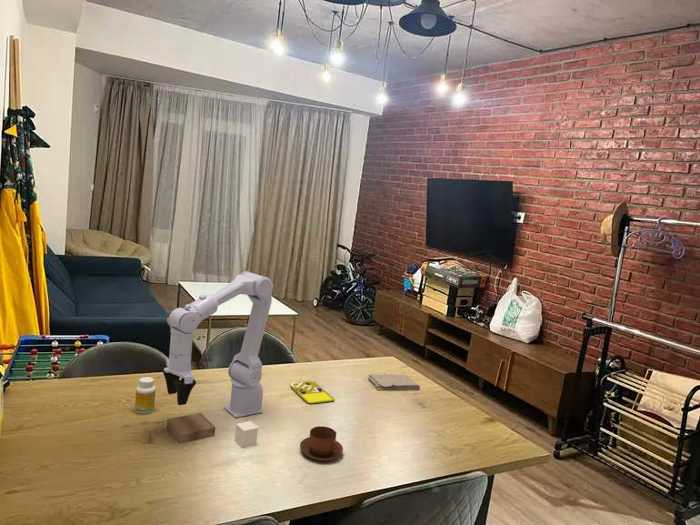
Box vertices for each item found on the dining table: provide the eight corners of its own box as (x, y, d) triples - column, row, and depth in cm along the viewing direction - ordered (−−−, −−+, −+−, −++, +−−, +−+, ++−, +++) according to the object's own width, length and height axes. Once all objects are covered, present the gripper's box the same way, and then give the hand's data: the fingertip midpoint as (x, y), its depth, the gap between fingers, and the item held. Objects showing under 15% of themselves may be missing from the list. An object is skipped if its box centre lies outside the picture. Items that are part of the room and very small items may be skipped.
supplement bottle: (147, 415, 152) (149, 384, 151) (130, 411, 153) (133, 380, 152) (157, 408, 158) (159, 378, 156) (141, 404, 159) (143, 374, 157)
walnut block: (199, 422, 153) (200, 412, 153) (214, 437, 146) (215, 427, 145) (166, 428, 147) (167, 419, 147) (179, 445, 139) (180, 434, 139)
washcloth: (365, 380, 204) (366, 372, 204) (406, 379, 211) (407, 372, 210) (377, 392, 193) (378, 384, 193) (419, 391, 200) (421, 383, 199)
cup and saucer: (347, 449, 148) (350, 429, 147) (332, 469, 137) (335, 447, 136) (309, 438, 152) (312, 418, 151) (291, 456, 140) (294, 435, 139)
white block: (248, 437, 147) (250, 420, 147) (256, 444, 144) (258, 427, 143) (234, 440, 145) (236, 424, 144) (242, 448, 141) (243, 430, 141)
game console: (336, 403, 179) (337, 399, 179) (308, 407, 174) (308, 402, 173) (312, 383, 194) (313, 379, 194) (285, 386, 189) (286, 382, 188)
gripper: (156, 345, 145) (153, 391, 147) (175, 362, 134) (172, 412, 136) (181, 342, 149) (178, 387, 151) (201, 359, 138) (197, 407, 140)
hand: (176, 398), depth 144 cm, fingers open, 7 cm apart
